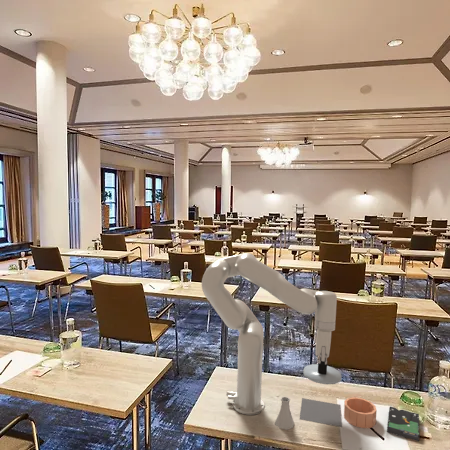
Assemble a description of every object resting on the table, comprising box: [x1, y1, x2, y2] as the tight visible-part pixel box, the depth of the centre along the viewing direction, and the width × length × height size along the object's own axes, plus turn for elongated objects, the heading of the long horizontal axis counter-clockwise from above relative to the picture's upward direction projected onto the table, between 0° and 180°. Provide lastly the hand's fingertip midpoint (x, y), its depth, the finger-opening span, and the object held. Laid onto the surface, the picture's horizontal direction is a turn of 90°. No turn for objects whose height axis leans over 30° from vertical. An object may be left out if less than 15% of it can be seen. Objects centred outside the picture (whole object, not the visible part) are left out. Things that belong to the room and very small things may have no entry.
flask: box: [274, 396, 295, 431], centre depth 129 cm, size 7×7×10 cm
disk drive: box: [386, 406, 421, 442], centre depth 131 cm, size 10×3×15 cm
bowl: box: [343, 396, 377, 429], centre depth 133 cm, size 11×11×6 cm
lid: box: [302, 361, 342, 385], centre depth 136 cm, size 14×14×6 cm
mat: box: [299, 397, 343, 428], centre depth 137 cm, size 15×15×1 cm
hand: (322, 370), depth 136 cm, fingers closed on lid, 3 cm apart
